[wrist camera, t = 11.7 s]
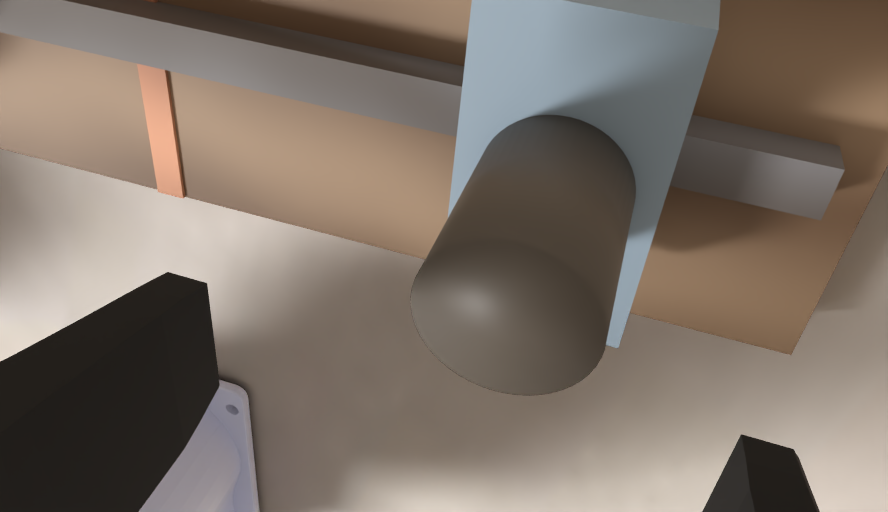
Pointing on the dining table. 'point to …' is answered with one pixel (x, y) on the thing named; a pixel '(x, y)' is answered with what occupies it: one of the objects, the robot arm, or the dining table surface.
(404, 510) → the dining table surface
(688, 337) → the dining table surface
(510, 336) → the handle
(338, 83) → the press bench
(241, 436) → the robot arm
